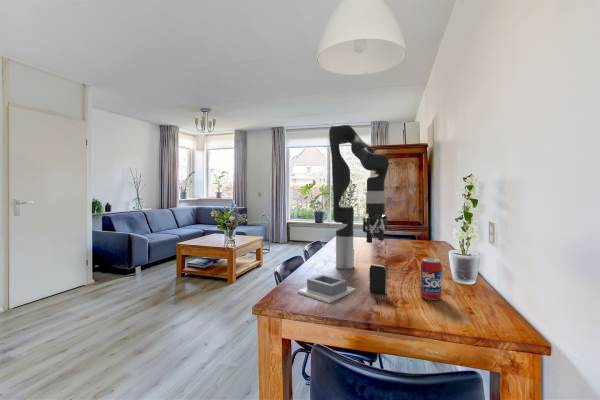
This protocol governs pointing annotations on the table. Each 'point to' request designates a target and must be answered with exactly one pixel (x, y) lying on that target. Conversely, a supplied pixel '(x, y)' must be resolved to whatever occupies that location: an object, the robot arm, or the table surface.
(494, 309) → the table surface
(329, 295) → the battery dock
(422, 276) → the soda can
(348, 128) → the robot arm
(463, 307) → the table surface
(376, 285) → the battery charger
